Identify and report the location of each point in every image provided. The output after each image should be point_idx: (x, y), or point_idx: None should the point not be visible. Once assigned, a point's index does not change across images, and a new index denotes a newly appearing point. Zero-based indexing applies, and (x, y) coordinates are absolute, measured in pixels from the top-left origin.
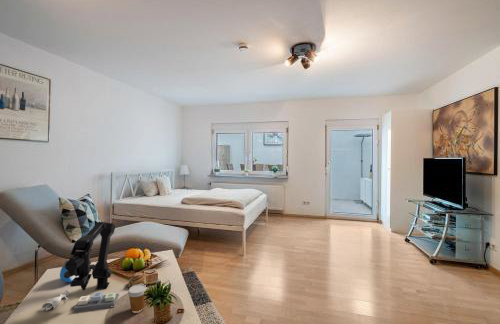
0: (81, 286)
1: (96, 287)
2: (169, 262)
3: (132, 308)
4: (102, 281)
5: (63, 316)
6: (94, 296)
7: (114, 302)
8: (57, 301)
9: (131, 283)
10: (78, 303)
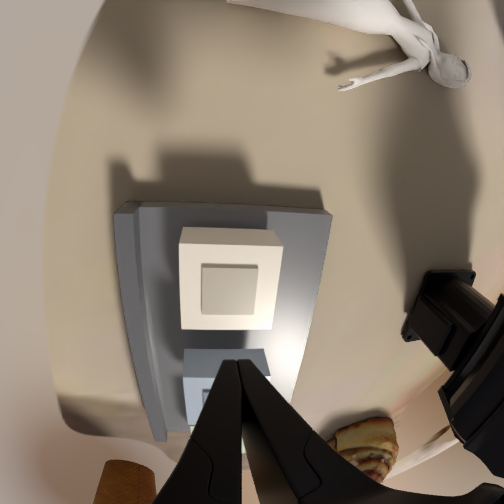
0: (198, 427)
1: (443, 276)
2: (434, 453)
3: (101, 478)
4: (443, 351)
5: (91, 132)
6: (194, 393)
7: (182, 430)
8: (319, 5)
9: (341, 455)
10: (181, 238)
